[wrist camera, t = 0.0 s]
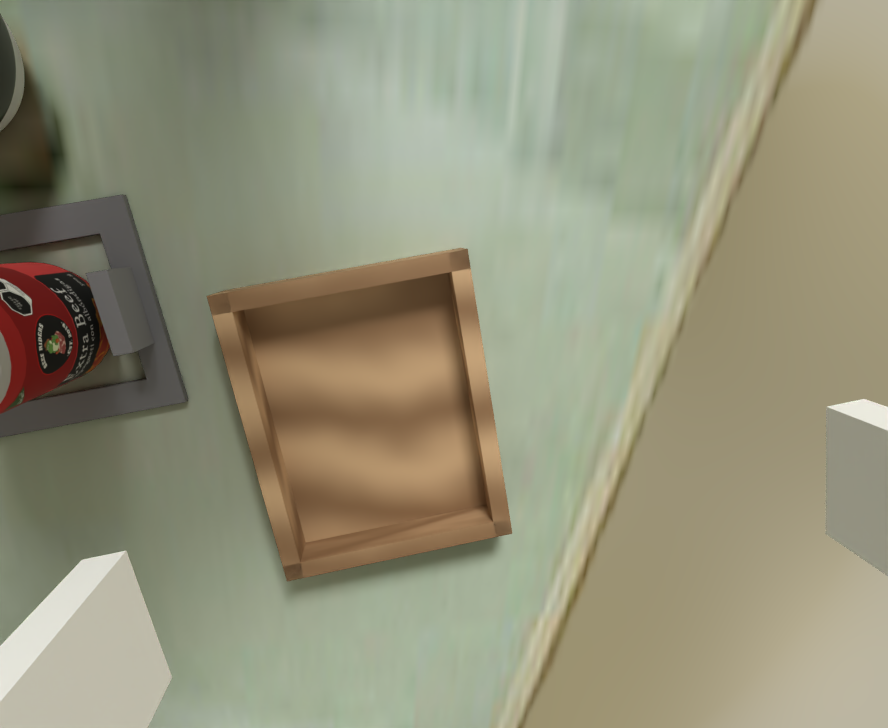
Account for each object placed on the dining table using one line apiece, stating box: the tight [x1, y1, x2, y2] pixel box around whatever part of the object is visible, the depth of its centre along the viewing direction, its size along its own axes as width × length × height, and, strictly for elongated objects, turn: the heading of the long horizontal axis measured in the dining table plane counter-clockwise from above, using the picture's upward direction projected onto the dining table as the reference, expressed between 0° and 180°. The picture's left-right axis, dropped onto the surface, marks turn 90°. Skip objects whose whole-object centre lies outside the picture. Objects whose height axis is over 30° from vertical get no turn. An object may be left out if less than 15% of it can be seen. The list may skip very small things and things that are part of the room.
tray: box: [207, 248, 512, 581], centre depth 37 cm, size 20×16×3 cm
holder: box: [0, 195, 188, 437], centre depth 33 cm, size 14×14×4 cm
